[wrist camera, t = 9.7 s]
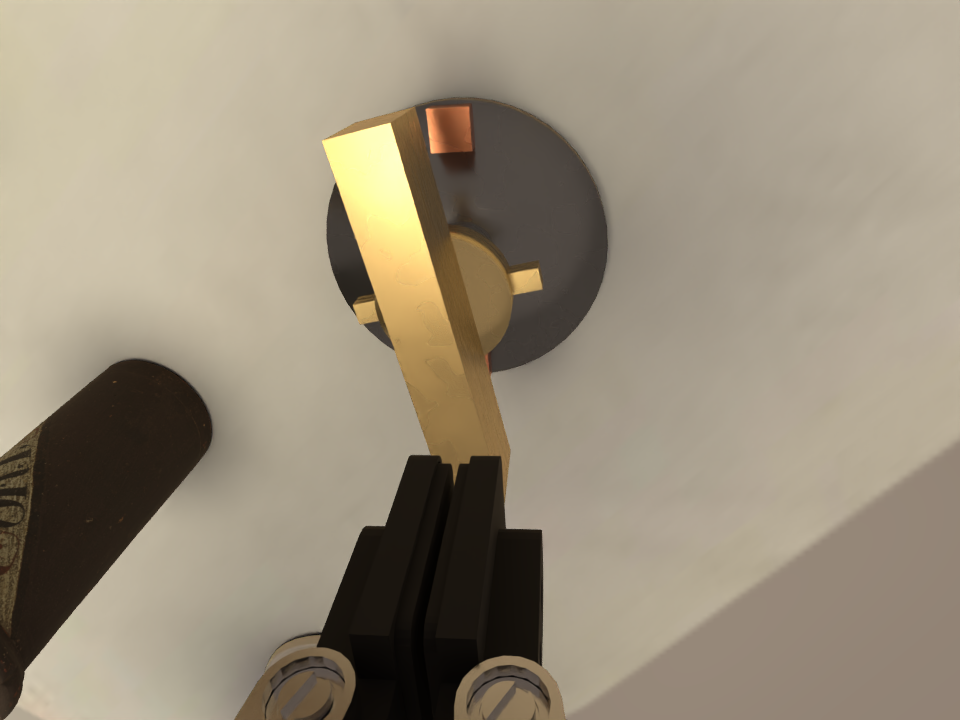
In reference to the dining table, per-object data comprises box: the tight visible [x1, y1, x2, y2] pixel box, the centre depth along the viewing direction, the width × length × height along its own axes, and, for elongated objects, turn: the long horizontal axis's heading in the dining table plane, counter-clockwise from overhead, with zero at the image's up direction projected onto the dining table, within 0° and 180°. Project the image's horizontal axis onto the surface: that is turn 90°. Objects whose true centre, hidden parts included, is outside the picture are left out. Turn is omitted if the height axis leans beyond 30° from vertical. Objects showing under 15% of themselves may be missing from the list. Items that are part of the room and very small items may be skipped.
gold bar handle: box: [322, 107, 543, 504], centre depth 27 cm, size 9×16×6 cm, turn 14°
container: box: [0, 360, 211, 720], centre depth 34 cm, size 9×9×20 cm
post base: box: [327, 98, 608, 378], centre depth 33 cm, size 15×15×6 cm
